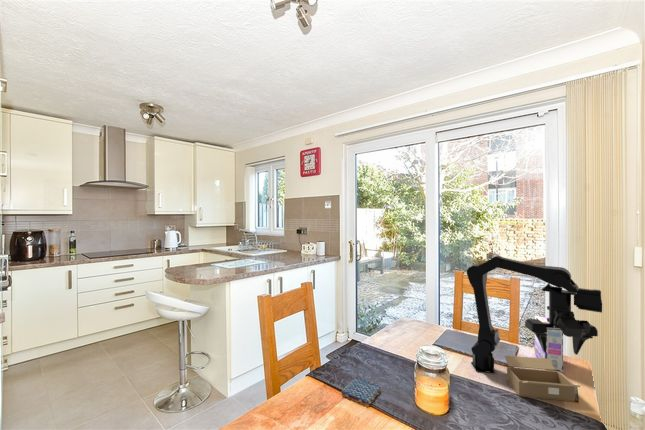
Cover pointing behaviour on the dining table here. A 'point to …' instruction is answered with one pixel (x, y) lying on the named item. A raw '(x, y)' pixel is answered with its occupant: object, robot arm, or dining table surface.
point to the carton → (539, 390)
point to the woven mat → (361, 391)
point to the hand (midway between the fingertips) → (560, 352)
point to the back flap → (529, 362)
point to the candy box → (551, 346)
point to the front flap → (551, 384)
